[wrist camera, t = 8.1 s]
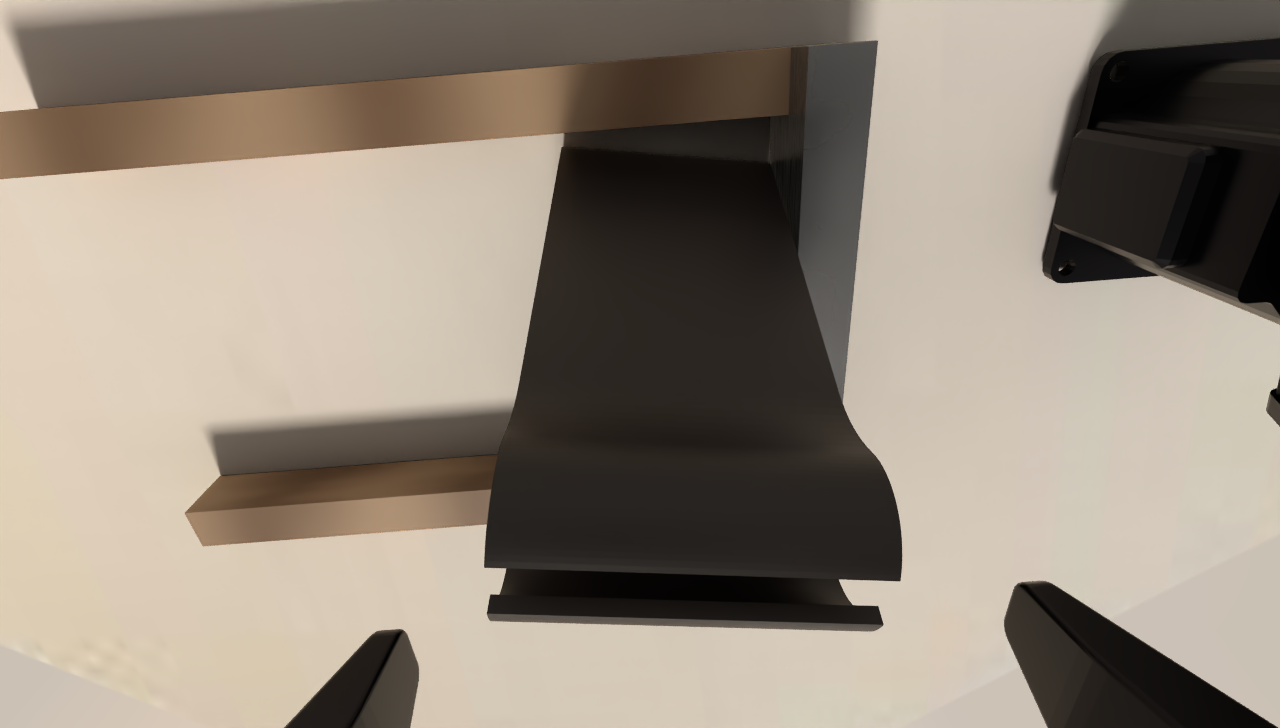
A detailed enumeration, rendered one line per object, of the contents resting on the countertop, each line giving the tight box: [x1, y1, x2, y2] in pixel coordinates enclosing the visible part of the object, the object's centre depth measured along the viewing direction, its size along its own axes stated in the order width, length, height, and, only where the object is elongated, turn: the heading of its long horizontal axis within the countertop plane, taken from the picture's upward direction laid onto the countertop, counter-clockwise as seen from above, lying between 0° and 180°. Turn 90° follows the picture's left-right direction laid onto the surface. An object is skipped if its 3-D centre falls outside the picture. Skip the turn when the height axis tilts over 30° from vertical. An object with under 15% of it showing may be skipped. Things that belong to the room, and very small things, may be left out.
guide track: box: [0, 47, 791, 546], centre depth 18 cm, size 21×14×2 cm, turn 94°
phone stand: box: [484, 147, 902, 631], centre depth 14 cm, size 9×6×12 cm, turn 175°
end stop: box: [769, 41, 878, 403], centre depth 18 cm, size 2×14×4 cm, turn 4°
